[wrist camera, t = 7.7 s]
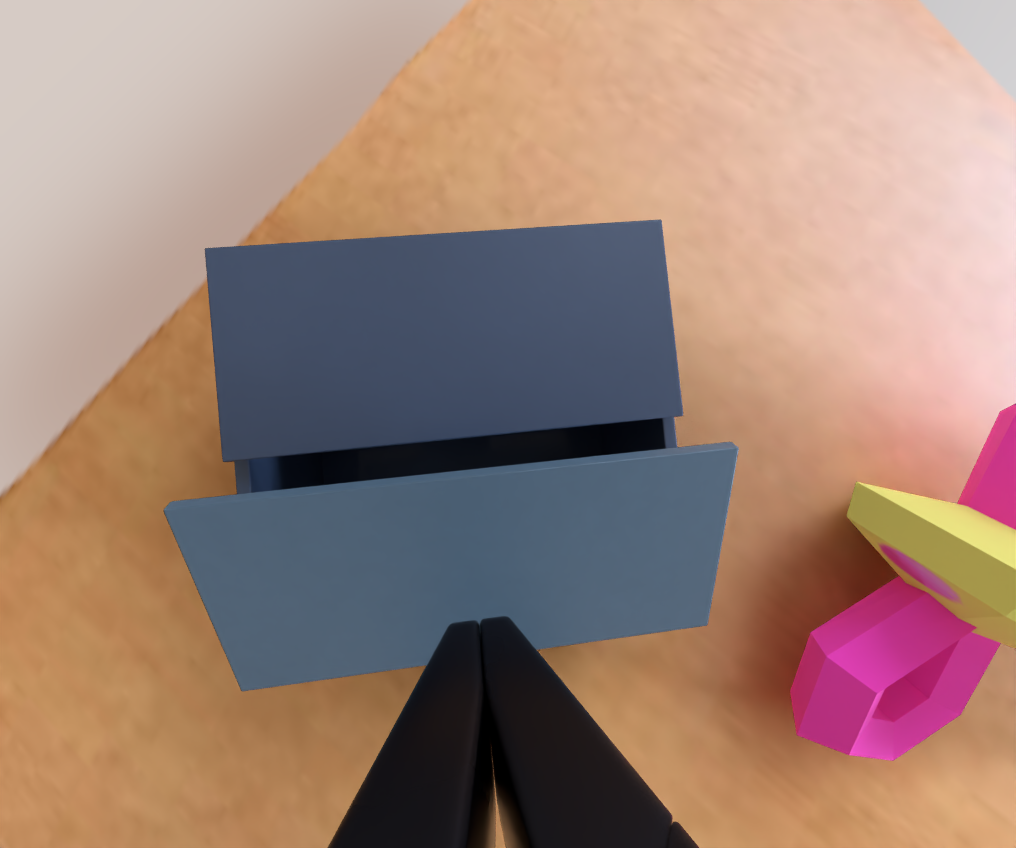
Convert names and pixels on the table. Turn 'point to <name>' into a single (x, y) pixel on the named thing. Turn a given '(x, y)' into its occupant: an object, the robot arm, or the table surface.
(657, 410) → the carton
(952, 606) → the toy
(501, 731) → the robot arm
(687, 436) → the table surface
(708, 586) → the flap
